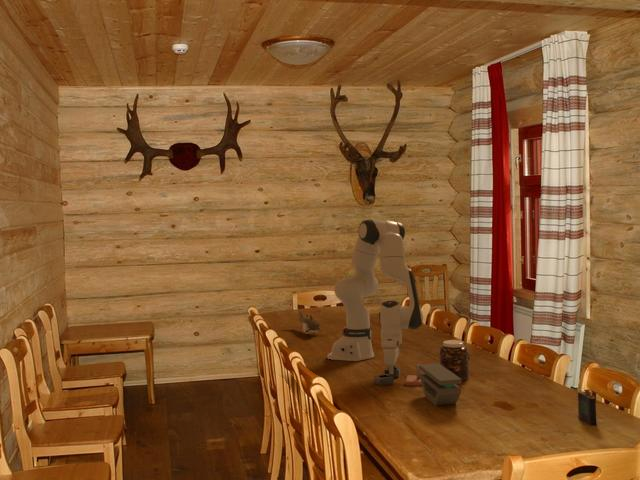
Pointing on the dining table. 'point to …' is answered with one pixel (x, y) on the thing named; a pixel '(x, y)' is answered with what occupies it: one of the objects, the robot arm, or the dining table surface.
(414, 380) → the keeper
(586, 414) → the flask
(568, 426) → the dining table surface
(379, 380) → the loose link
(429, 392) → the grey lidded box
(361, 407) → the dining table surface
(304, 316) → the wood carving
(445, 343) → the jar
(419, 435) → the dining table surface
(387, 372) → the link
